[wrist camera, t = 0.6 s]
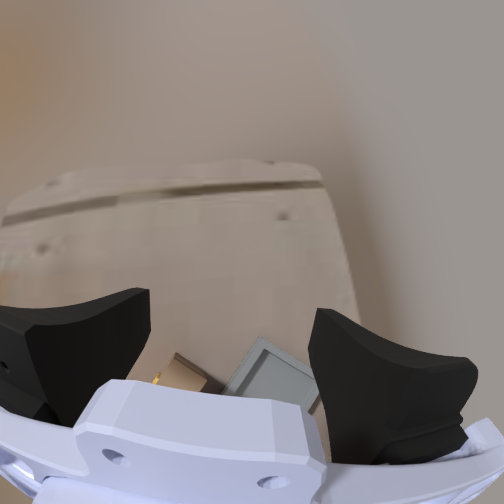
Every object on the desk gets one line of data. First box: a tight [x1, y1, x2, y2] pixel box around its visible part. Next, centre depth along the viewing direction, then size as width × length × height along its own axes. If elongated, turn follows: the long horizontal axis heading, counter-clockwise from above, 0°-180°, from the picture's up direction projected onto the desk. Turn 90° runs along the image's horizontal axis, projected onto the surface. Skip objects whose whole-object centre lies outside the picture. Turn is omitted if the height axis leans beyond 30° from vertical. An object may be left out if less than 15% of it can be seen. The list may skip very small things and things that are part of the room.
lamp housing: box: [151, 353, 207, 392], centre depth 26 cm, size 12×5×7 cm, turn 147°
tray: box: [220, 337, 319, 412], centre depth 32 cm, size 11×11×2 cm
